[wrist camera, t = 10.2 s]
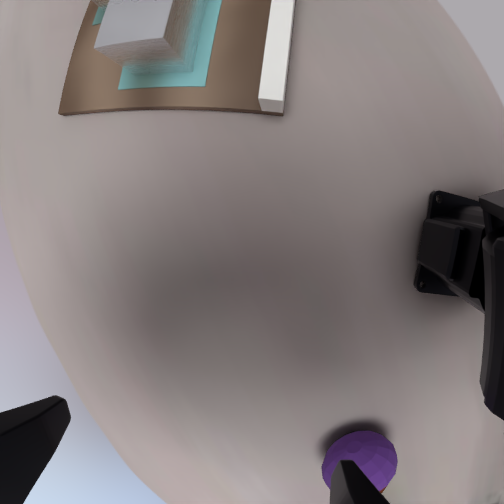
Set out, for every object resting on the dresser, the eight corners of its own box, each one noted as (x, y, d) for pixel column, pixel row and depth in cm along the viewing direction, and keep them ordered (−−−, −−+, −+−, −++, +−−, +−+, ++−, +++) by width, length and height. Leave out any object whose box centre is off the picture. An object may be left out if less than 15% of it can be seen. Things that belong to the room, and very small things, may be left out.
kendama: (350, 546, 20) (308, 484, 16) (355, 508, 26) (318, 423, 21) (401, 539, 18) (396, 472, 14) (401, 500, 24) (391, 409, 19)
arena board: (301, -57, 13) (301, -64, 13) (283, 116, 17) (283, 112, 16) (114, -40, 15) (110, -45, 14) (64, 115, 18) (57, 113, 17)
